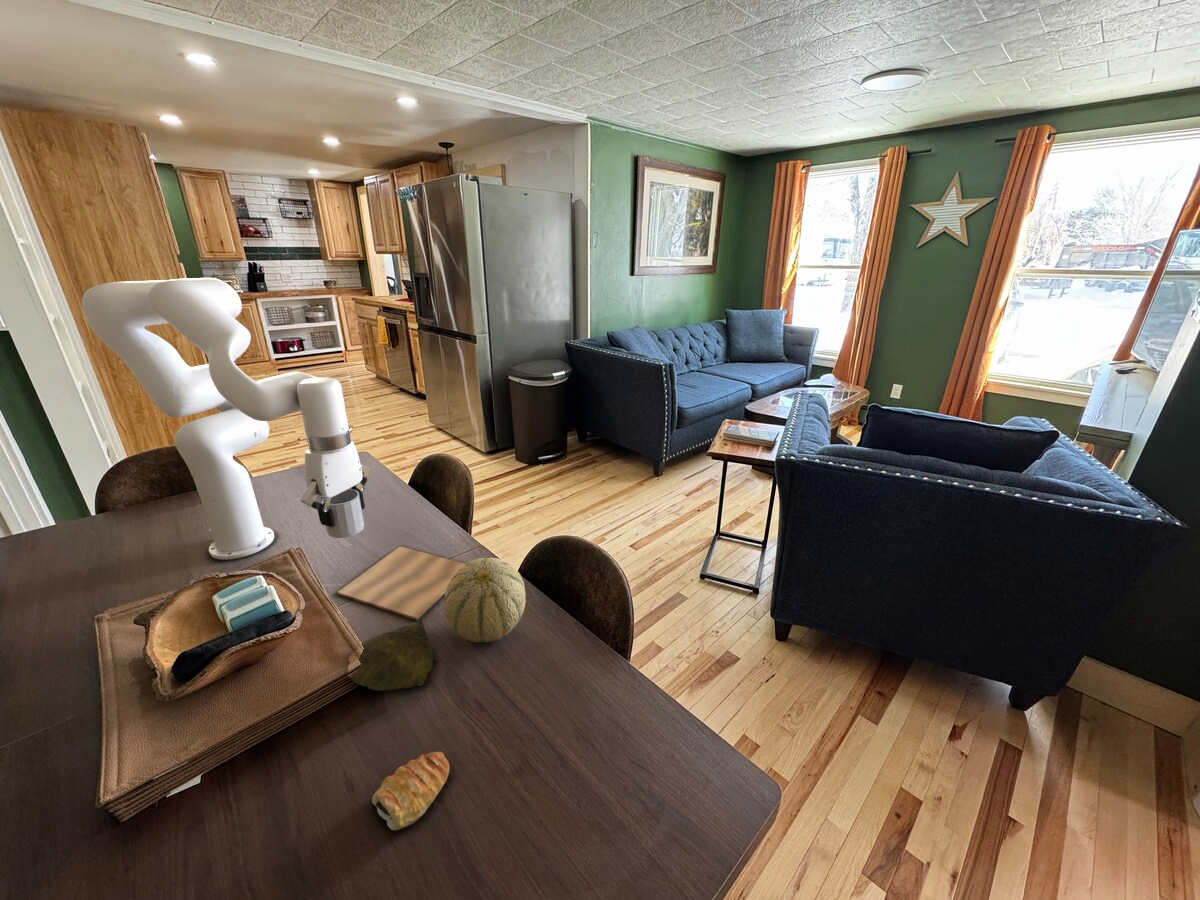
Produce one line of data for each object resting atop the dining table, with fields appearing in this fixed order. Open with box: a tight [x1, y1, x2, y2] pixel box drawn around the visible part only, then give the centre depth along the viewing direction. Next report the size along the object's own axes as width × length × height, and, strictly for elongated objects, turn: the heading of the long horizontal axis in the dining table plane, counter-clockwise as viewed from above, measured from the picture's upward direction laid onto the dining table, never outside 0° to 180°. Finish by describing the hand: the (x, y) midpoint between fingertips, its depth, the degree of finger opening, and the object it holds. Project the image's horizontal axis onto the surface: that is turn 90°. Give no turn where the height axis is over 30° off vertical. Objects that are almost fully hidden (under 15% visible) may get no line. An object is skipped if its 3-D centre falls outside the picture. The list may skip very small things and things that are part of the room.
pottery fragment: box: [350, 619, 435, 692], centre depth 80 cm, size 13×14×4 cm
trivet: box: [337, 545, 466, 621], centre depth 101 cm, size 20×18×1 cm
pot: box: [321, 488, 365, 539], centre depth 101 cm, size 7×7×8 cm
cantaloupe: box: [443, 557, 527, 643], centre depth 86 cm, size 15×15×15 cm
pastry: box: [371, 751, 451, 831], centre depth 61 cm, size 9×7×4 cm
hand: (343, 515), depth 101 cm, fingers closed on pot, 7 cm apart
